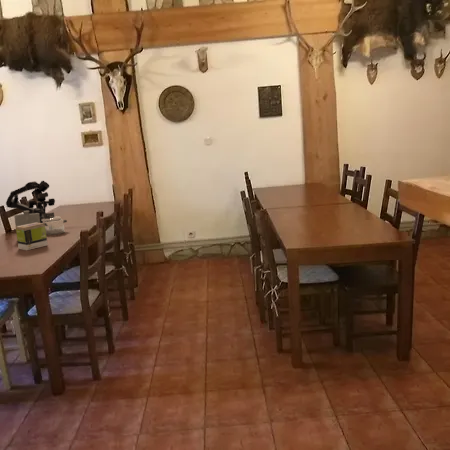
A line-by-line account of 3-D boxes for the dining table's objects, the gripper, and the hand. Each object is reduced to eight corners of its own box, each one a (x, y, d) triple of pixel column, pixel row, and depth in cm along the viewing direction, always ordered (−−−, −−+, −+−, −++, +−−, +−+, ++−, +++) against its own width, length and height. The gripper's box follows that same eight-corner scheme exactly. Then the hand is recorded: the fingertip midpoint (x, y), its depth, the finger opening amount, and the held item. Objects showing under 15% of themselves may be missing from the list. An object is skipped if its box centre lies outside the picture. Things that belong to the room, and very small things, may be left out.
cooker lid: (38, 219, 381) (38, 214, 380) (57, 217, 389) (56, 211, 388) (45, 222, 370) (44, 216, 369) (64, 219, 378) (63, 213, 377)
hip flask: (42, 238, 361) (38, 209, 358) (41, 239, 358) (38, 210, 354) (17, 240, 358) (14, 211, 354) (16, 241, 354) (13, 212, 350)
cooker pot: (39, 233, 377) (38, 221, 375) (63, 229, 387) (62, 217, 386) (46, 236, 367) (44, 223, 365) (70, 232, 377) (69, 219, 376)
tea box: (39, 244, 343) (36, 221, 340) (48, 245, 336) (45, 223, 333) (18, 248, 331) (15, 225, 328) (26, 250, 325) (23, 227, 322)
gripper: (27, 190, 383) (33, 207, 376) (53, 187, 393) (59, 204, 387) (25, 199, 391) (31, 216, 384) (50, 196, 401) (56, 213, 395)
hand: (44, 212), depth 387 cm, fingers closed
